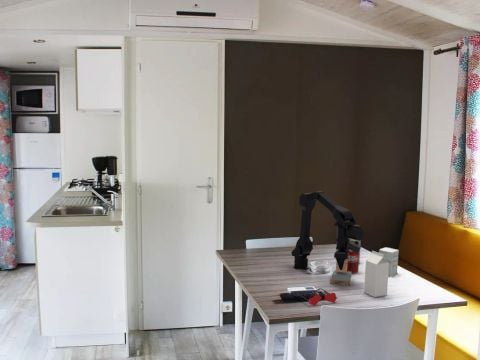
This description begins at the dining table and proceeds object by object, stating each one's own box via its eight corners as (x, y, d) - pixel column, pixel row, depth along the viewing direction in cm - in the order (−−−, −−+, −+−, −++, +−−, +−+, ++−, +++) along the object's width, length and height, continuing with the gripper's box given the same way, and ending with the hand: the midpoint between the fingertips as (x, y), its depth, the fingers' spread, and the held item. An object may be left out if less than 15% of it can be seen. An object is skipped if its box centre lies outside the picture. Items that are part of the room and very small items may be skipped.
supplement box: (377, 273, 254) (378, 249, 252) (384, 270, 259) (385, 246, 257) (390, 276, 249) (392, 252, 247) (397, 273, 254) (399, 249, 252)
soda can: (358, 274, 251) (359, 251, 250) (343, 273, 253) (344, 250, 251) (358, 270, 258) (359, 247, 257) (343, 269, 260) (344, 246, 258)
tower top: (331, 279, 237) (331, 274, 236) (334, 274, 244) (334, 269, 244) (348, 281, 234) (348, 276, 233) (351, 276, 241) (351, 271, 241)
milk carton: (374, 297, 219) (377, 255, 217) (363, 292, 225) (366, 251, 223) (387, 295, 222) (389, 253, 220) (375, 290, 228) (378, 249, 226)
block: (335, 271, 237) (336, 263, 236) (336, 268, 242) (336, 260, 241) (346, 272, 236) (346, 264, 235) (347, 269, 240) (347, 261, 240)
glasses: (309, 308, 207) (309, 296, 206) (290, 294, 222) (290, 284, 221) (337, 303, 212) (338, 292, 211) (317, 291, 227) (317, 280, 226)
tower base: (330, 285, 236) (330, 280, 236) (331, 279, 245) (332, 274, 245) (349, 287, 234) (350, 281, 234) (350, 281, 243) (350, 276, 242)
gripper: (359, 242, 226) (358, 275, 227) (360, 233, 243) (359, 264, 245) (334, 240, 228) (333, 273, 230) (337, 231, 246) (336, 262, 248)
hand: (341, 268), depth 238 cm, fingers closed on block, 5 cm apart
